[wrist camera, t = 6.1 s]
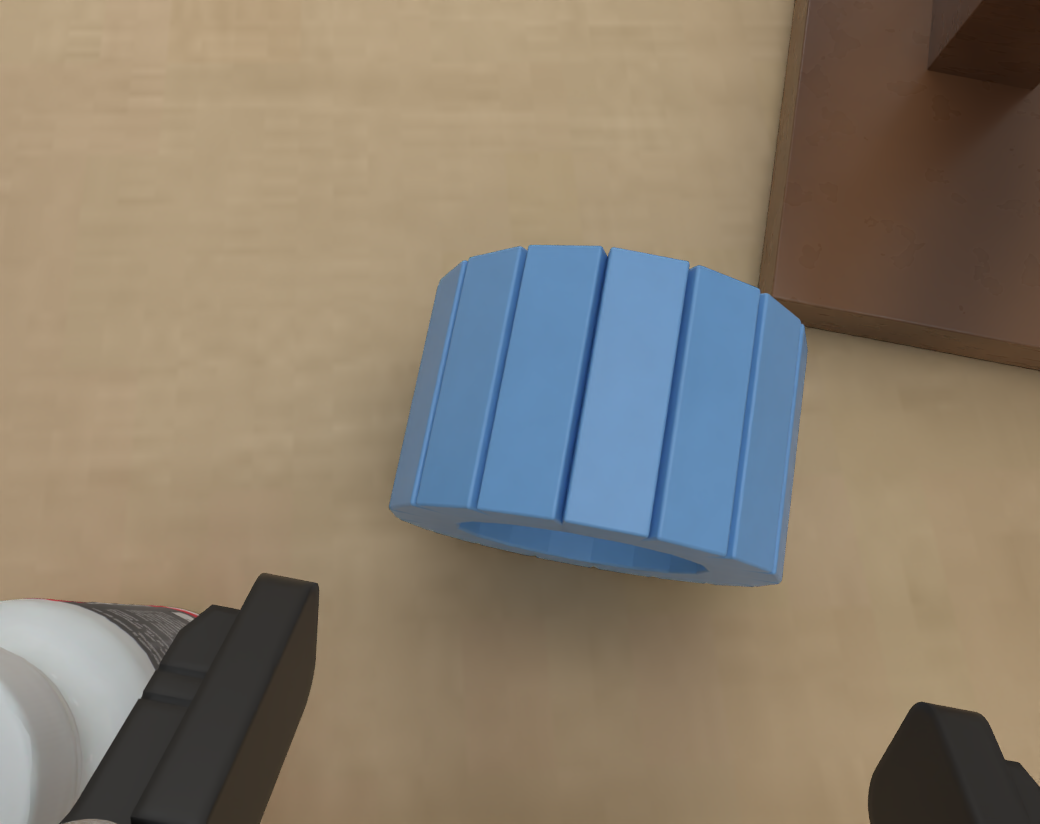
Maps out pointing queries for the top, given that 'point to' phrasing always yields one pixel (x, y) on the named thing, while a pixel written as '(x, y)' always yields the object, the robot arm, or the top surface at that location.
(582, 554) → the tape roll
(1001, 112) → the tape stand
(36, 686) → the pill bottle
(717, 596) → the top surface
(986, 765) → the robot arm
